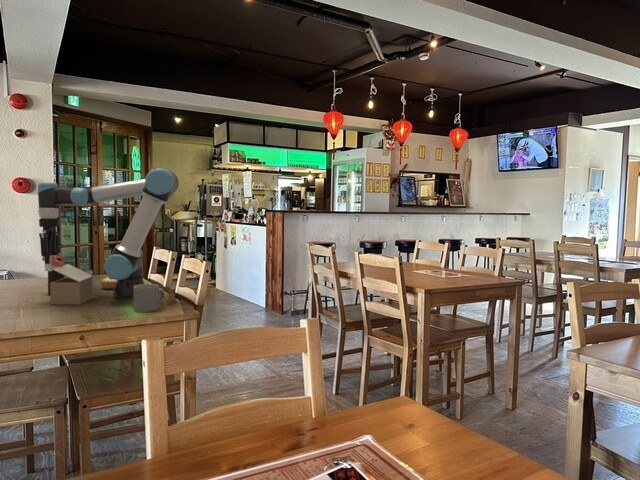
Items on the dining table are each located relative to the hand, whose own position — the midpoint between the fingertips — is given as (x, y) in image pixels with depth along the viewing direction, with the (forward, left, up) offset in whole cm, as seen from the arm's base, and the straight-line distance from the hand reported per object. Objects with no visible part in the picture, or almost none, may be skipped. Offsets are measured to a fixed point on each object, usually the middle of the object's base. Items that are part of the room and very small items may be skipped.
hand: (50, 270), depth 201 cm
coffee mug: (-47, +15, -15) cm, 51 cm away
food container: (+1, -31, -15) cm, 34 cm away
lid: (-6, 0, 0) cm, 6 cm away
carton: (-9, 0, -14) cm, 17 cm away
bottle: (+6, -18, -15) cm, 24 cm away
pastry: (-15, -35, -15) cm, 41 cm away
